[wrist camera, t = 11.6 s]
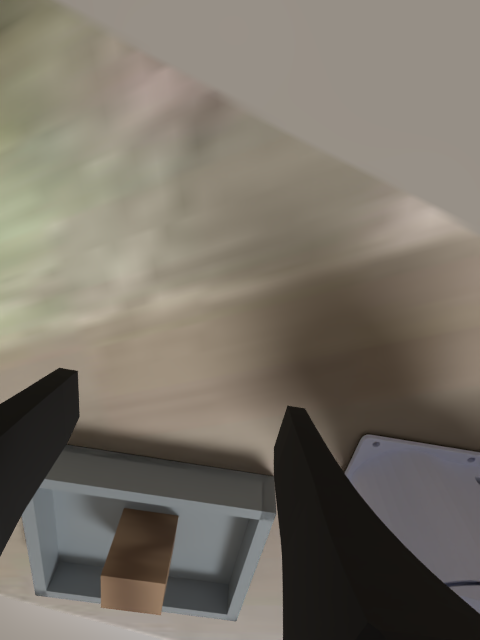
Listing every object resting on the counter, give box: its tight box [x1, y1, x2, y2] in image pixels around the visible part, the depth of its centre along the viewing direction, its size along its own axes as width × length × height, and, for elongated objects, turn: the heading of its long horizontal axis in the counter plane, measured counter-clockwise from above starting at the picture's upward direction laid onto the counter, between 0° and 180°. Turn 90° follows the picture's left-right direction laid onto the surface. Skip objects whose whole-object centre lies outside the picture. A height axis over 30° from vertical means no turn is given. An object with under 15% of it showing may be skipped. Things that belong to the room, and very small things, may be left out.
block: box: [101, 508, 179, 615], centre depth 28 cm, size 4×4×5 cm
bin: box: [22, 445, 276, 621], centre depth 29 cm, size 18×16×3 cm
